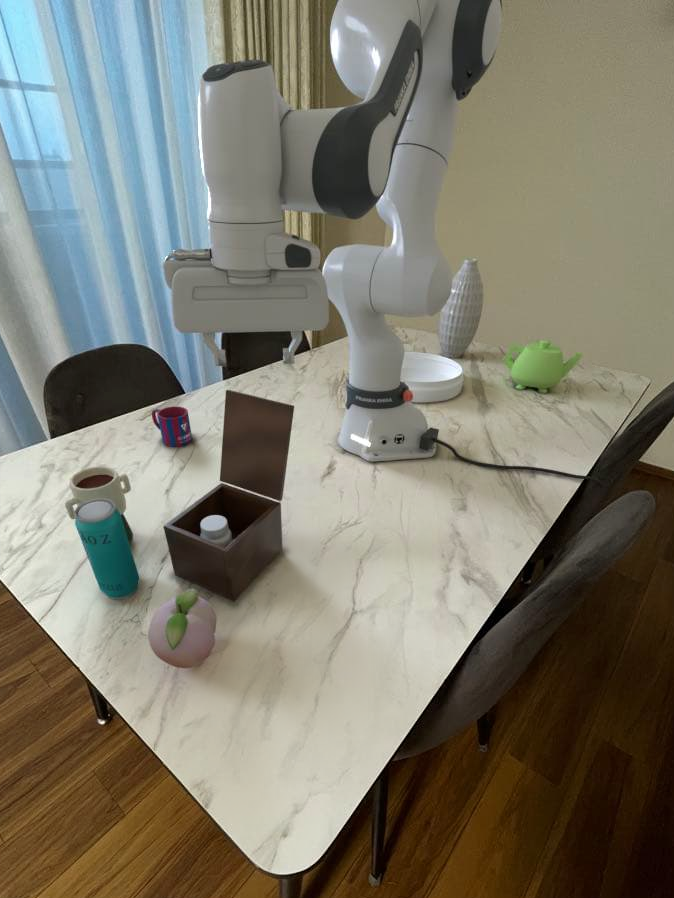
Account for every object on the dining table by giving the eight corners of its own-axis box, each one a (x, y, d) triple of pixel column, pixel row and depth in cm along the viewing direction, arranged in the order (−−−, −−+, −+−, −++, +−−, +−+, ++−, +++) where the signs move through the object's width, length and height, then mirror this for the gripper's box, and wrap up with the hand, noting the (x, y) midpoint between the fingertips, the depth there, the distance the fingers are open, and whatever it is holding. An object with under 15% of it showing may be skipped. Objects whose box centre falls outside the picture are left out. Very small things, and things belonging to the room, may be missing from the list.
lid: (291, 406, 66) (294, 405, 67) (225, 389, 70) (229, 389, 71) (279, 501, 72) (282, 499, 73) (219, 480, 76) (222, 479, 77)
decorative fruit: (162, 631, 65) (147, 579, 59) (222, 627, 66) (213, 575, 60) (151, 689, 58) (133, 638, 52) (218, 684, 59) (208, 633, 52)
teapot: (569, 383, 140) (585, 339, 132) (569, 399, 131) (586, 353, 123) (499, 373, 146) (510, 330, 138) (494, 388, 136) (506, 343, 128)
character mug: (129, 520, 85) (110, 456, 77) (154, 535, 82) (137, 470, 74) (74, 550, 78) (47, 484, 70) (98, 568, 75) (73, 501, 67)
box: (233, 602, 70) (227, 552, 63) (174, 575, 74) (163, 525, 68) (282, 551, 79) (281, 502, 73) (227, 529, 83) (221, 482, 77)
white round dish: (447, 368, 149) (450, 351, 146) (473, 402, 128) (478, 383, 125) (362, 368, 148) (364, 351, 145) (375, 403, 127) (377, 383, 124)
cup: (175, 449, 106) (170, 421, 102) (148, 436, 111) (141, 409, 106) (198, 438, 110) (193, 411, 106) (170, 427, 115) (165, 400, 111)
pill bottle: (239, 558, 76) (235, 516, 71) (227, 577, 73) (221, 535, 67) (213, 552, 77) (206, 510, 72) (199, 571, 74) (191, 529, 68)
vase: (434, 359, 155) (451, 262, 138) (432, 348, 165) (448, 255, 147) (473, 362, 154) (495, 264, 136) (469, 350, 164) (490, 257, 146)
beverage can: (107, 577, 74) (78, 497, 64) (144, 575, 74) (121, 496, 64) (97, 604, 69) (65, 523, 60) (137, 602, 70) (111, 521, 60)
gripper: (156, 253, 54) (176, 374, 62) (333, 252, 55) (329, 369, 64) (163, 245, 58) (182, 358, 67) (326, 244, 60) (323, 354, 69)
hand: (255, 364), depth 66 cm, fingers open, 8 cm apart
